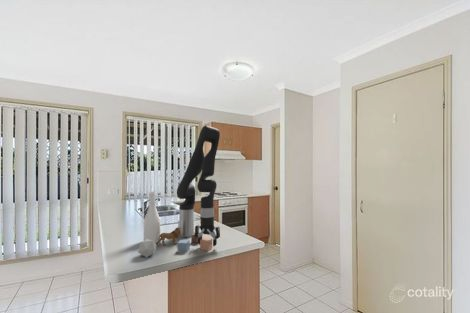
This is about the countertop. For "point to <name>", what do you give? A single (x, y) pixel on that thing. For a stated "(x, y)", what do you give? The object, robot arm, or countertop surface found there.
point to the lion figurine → (170, 236)
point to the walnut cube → (194, 238)
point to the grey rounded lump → (147, 247)
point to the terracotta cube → (206, 244)
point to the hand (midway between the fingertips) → (207, 245)
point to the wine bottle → (152, 221)
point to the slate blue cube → (183, 245)
